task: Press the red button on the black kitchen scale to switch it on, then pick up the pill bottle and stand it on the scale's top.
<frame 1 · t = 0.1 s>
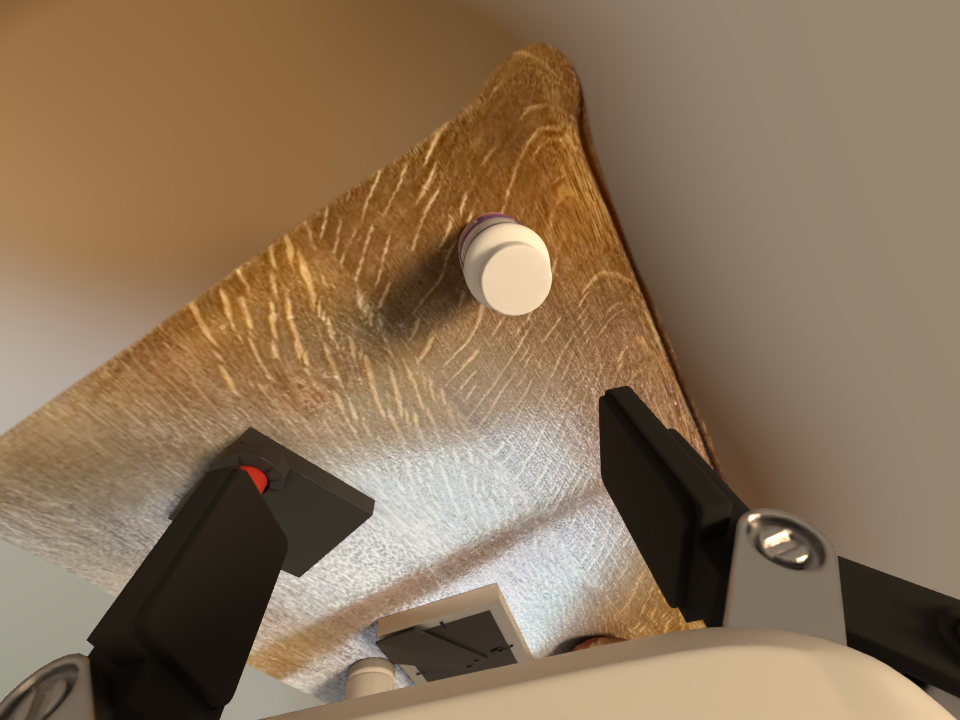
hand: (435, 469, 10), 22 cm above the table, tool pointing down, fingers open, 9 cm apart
pill bottle: (492, 247, 30), on the table
picture frame: (463, 641, 54), on the table
travel mug: (372, 668, 54), on the table
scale: (280, 501, 39), on the table
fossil: (587, 644, 58), on the table
scale button: (244, 486, 33), point 4 cm above the table, slide at 0.1 cm
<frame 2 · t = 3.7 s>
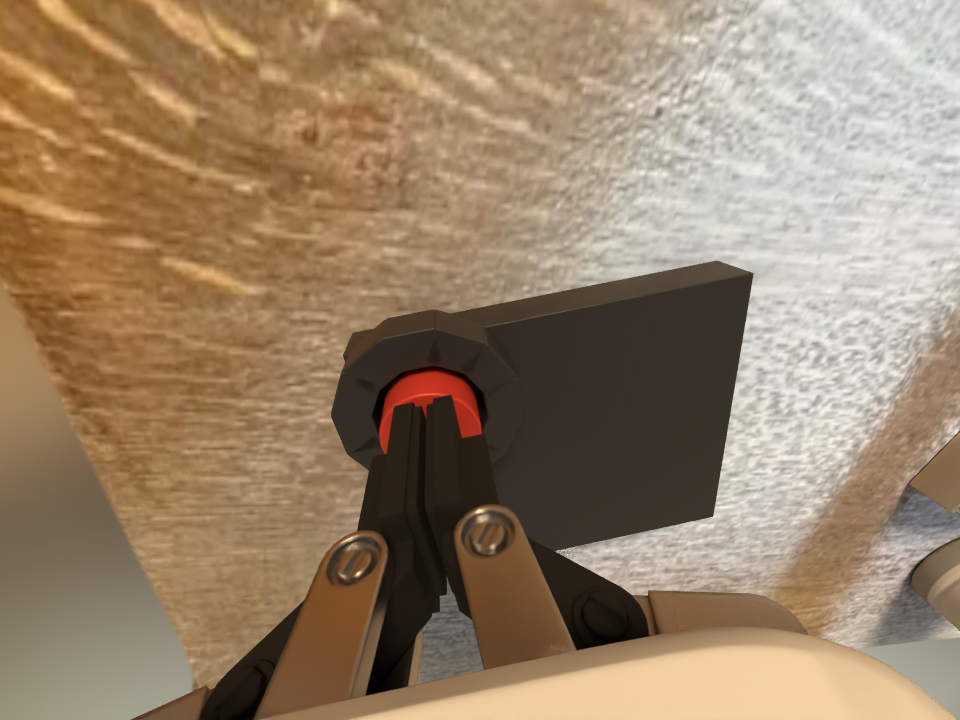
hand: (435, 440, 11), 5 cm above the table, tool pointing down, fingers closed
travel mug: (951, 561, 27), on the table
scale: (550, 423, 17), on the table
scale button: (431, 419, 12), point 4 cm above the table, slide at -0.2 cm, touching gripper
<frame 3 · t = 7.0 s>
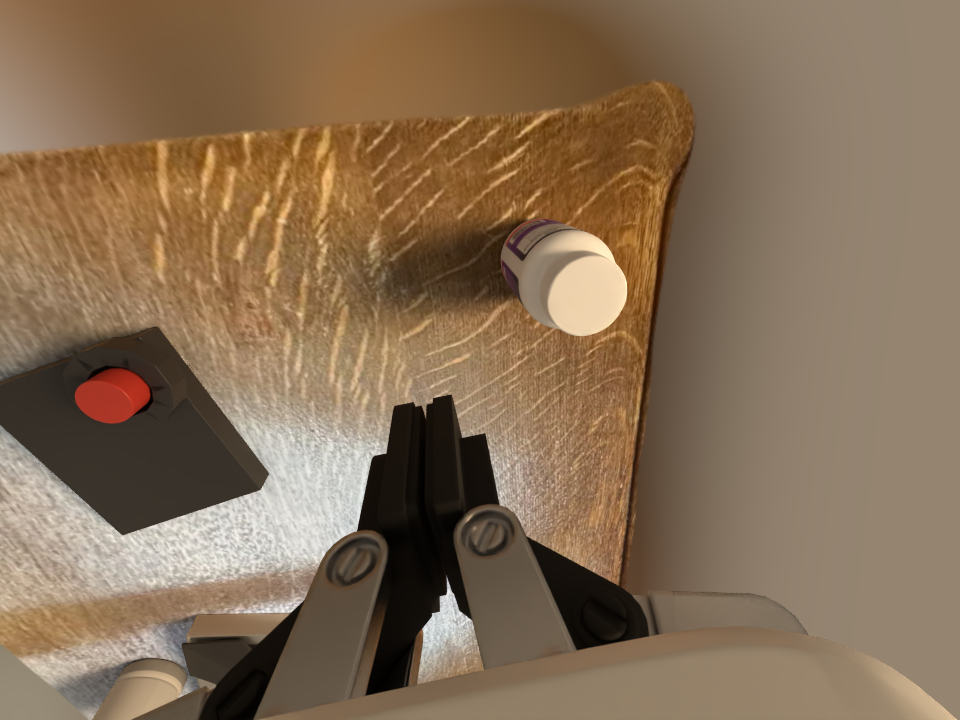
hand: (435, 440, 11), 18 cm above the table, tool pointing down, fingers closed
pill bottle: (536, 257, 27), on the table
picture frame: (287, 667, 45), on the table
travel mug: (156, 672, 43), on the table
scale: (146, 432, 30), on the table
scale button: (114, 395, 24), point 4 cm above the table, slide at 0.1 cm
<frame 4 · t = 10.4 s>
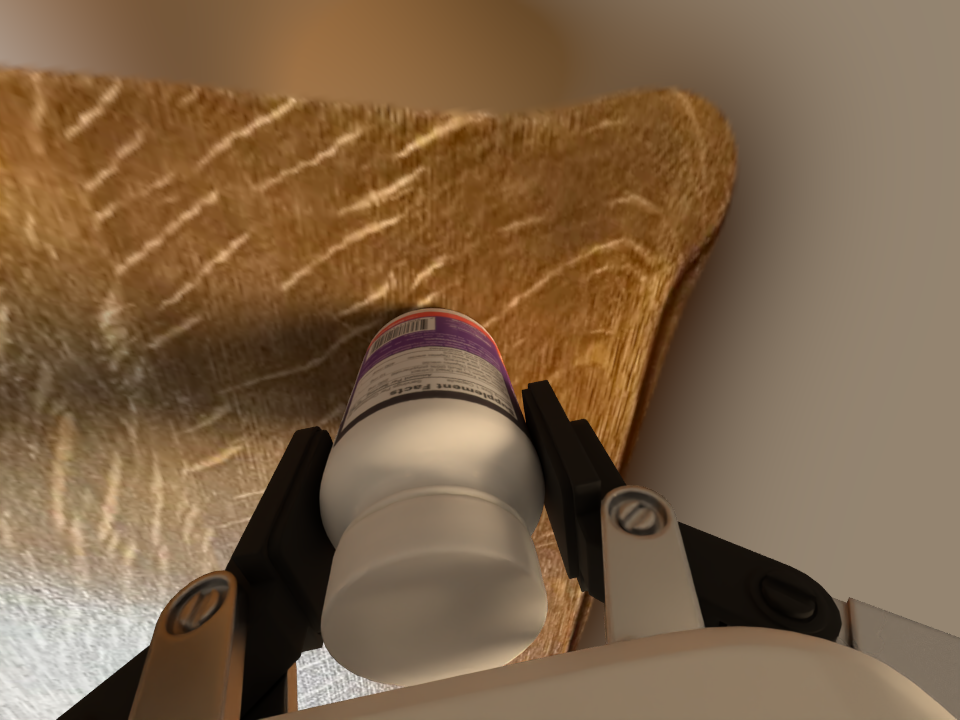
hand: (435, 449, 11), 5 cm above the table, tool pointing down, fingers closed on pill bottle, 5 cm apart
pill bottle: (434, 366, 16), on the table, touching gripper
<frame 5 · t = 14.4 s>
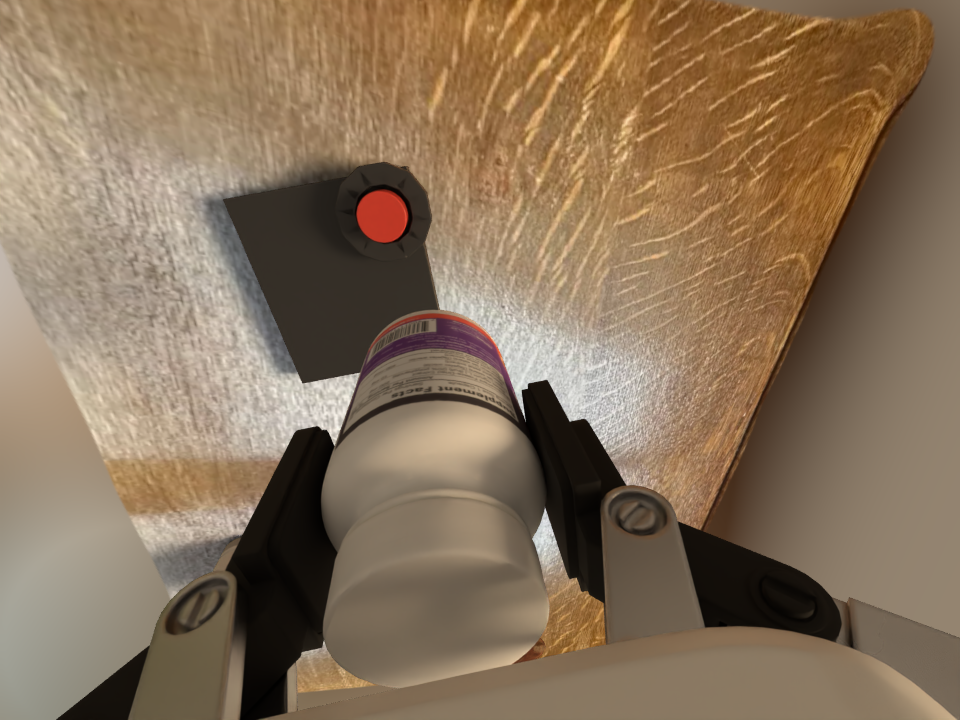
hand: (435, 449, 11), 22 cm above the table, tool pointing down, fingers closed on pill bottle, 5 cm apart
pill bottle: (435, 368, 16), point 17 cm above the table, touching gripper
travel mug: (256, 553, 42), on the table
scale: (353, 279, 30), on the table
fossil: (486, 625, 53), on the table
scale button: (383, 215, 25), point 4 cm above the table, slide at 0.1 cm
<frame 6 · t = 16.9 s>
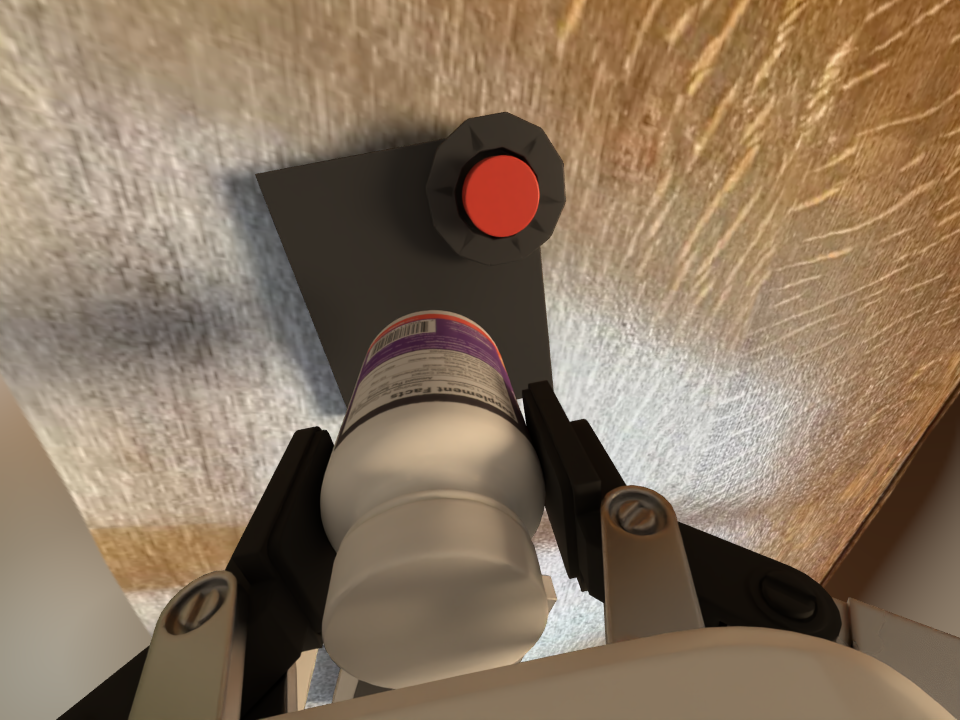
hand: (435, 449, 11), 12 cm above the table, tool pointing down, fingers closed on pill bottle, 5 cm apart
pill bottle: (435, 368, 16), point 7 cm above the table, touching gripper
picture frame: (434, 637, 37), on the table
travel mug: (283, 629, 34), on the table
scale: (429, 290, 22), on the table
scale button: (499, 196, 16), point 4 cm above the table, slide at 0.1 cm
when the fingers open (7 cm above the table, at t = 18.7 s): pill bottle stays where it is, resting on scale.
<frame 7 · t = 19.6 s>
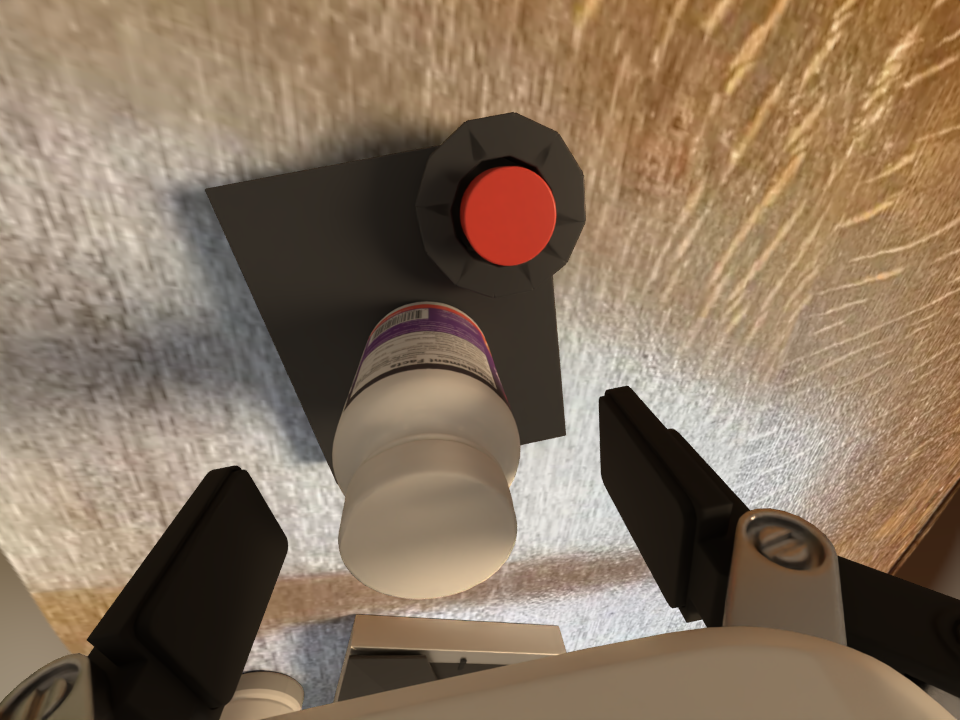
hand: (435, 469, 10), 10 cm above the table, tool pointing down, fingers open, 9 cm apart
pill bottle: (428, 354, 17), point 2 cm above the table, touching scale
picture frame: (430, 692, 33), on the table
travel mug: (261, 690, 30), on the table
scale: (421, 321, 19), on the table
scale button: (505, 215, 13), point 4 cm above the table, slide at 0.1 cm
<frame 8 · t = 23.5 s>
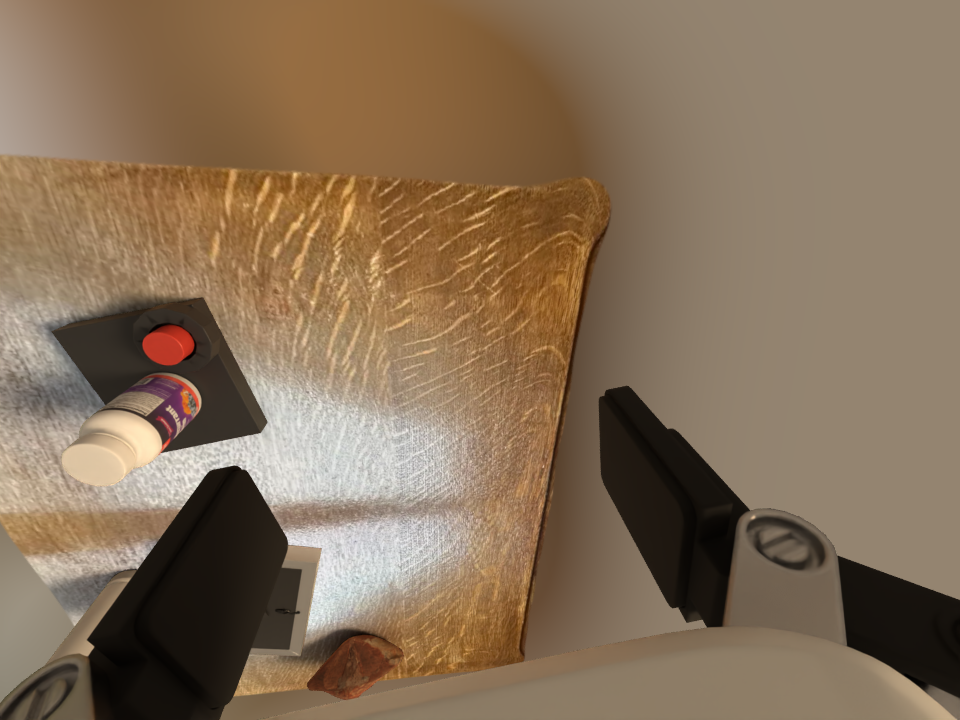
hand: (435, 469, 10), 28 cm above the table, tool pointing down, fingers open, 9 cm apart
pill bottle: (173, 394, 37), point 2 cm above the table, touching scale
picture frame: (252, 592, 53), on the table
travel mug: (140, 583, 50), on the table
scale: (177, 377, 38), on the table
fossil: (360, 640, 61), on the table
scale button: (169, 344, 33), point 4 cm above the table, slide at 0.1 cm
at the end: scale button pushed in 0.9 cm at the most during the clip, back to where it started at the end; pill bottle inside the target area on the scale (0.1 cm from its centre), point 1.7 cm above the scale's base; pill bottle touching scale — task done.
